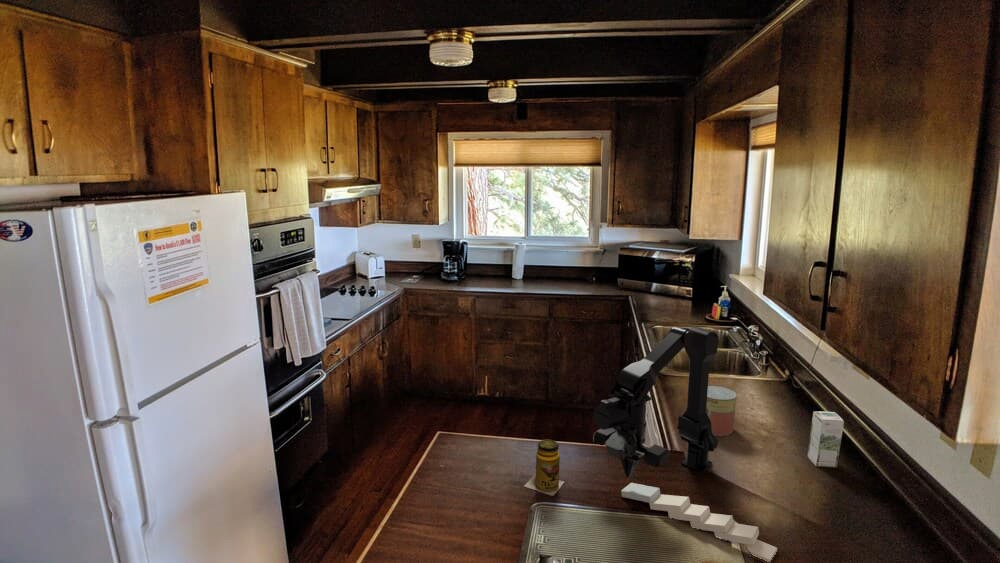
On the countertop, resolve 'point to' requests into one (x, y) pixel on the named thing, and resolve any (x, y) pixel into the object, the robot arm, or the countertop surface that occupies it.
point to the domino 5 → (740, 534)
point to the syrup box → (825, 439)
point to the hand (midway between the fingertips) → (628, 476)
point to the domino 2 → (670, 503)
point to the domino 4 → (715, 523)
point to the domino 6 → (761, 550)
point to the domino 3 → (692, 513)
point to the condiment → (546, 468)
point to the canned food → (721, 409)
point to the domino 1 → (640, 492)
